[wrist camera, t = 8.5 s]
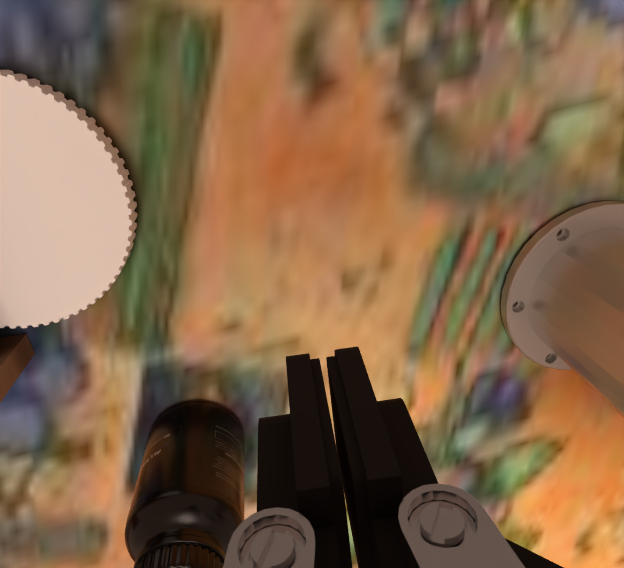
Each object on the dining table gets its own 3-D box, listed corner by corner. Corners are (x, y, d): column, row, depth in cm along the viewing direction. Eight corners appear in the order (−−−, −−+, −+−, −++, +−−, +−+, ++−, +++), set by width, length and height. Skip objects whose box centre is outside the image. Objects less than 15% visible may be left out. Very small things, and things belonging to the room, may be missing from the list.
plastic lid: (154, 302, 32) (148, 320, 30) (-81, 315, 30) (-107, 336, 28) (120, 64, 26) (108, 64, 24) (-172, 65, 25) (-215, 65, 22)
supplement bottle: (142, 402, 35) (97, 557, 24) (241, 394, 35) (242, 542, 25) (154, 476, 37) (119, 646, 27) (246, 468, 38) (248, 630, 27)
